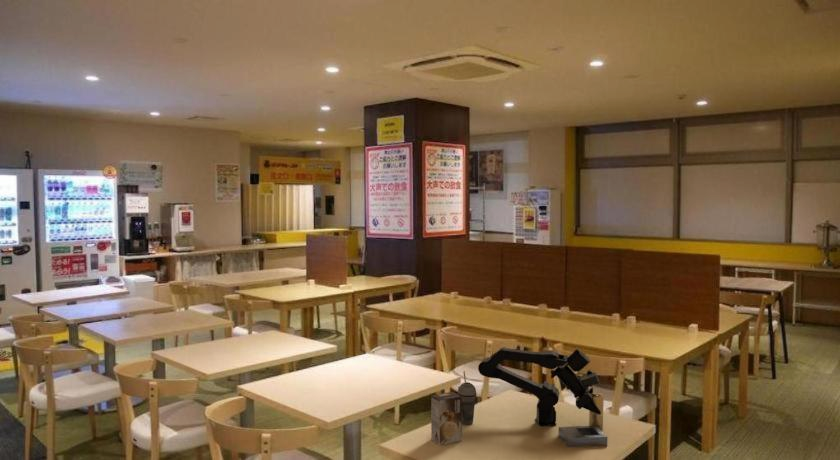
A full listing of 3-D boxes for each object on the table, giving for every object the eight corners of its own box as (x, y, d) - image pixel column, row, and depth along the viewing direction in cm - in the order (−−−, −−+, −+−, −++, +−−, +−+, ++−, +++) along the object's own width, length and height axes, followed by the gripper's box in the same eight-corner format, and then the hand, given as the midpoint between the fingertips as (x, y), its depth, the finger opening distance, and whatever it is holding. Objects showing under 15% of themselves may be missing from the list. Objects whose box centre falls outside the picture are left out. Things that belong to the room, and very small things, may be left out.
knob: (591, 431, 220) (592, 397, 219) (586, 426, 225) (587, 393, 224) (605, 430, 220) (605, 397, 220) (599, 425, 225) (600, 392, 224)
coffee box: (452, 434, 216) (453, 391, 215) (462, 441, 210) (462, 396, 209) (430, 439, 211) (430, 394, 211) (439, 446, 206) (439, 400, 205)
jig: (568, 446, 206) (568, 438, 206) (558, 435, 216) (558, 426, 216) (607, 445, 207) (607, 436, 207) (595, 433, 217) (596, 425, 217)
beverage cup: (475, 427, 222) (475, 374, 221) (455, 426, 224) (456, 373, 223) (477, 420, 229) (477, 369, 228) (458, 419, 231) (458, 367, 230)
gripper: (585, 372, 213) (617, 406, 211) (586, 359, 231) (615, 389, 229) (562, 392, 216) (593, 425, 213) (565, 377, 234) (593, 407, 231)
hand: (600, 411), depth 222 cm, fingers closed on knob, 5 cm apart
